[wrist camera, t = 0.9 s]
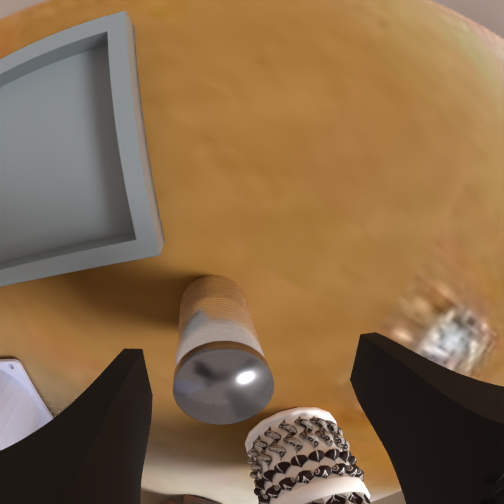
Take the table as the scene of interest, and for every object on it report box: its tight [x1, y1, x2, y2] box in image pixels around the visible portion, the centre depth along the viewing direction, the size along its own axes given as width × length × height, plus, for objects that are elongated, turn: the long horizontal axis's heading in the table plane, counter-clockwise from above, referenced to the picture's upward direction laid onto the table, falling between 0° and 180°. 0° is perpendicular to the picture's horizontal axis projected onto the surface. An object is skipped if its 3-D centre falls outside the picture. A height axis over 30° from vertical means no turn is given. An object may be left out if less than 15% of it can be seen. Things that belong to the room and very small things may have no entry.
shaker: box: [173, 275, 274, 425], centre depth 16 cm, size 4×4×8 cm
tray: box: [0, 11, 165, 287], centre depth 14 cm, size 16×13×2 cm
